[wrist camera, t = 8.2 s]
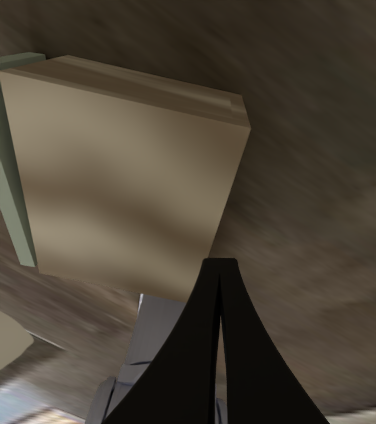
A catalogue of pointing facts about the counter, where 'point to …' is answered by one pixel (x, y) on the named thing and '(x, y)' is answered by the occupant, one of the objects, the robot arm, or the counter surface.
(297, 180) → the counter surface
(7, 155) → the door
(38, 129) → the cabinet
